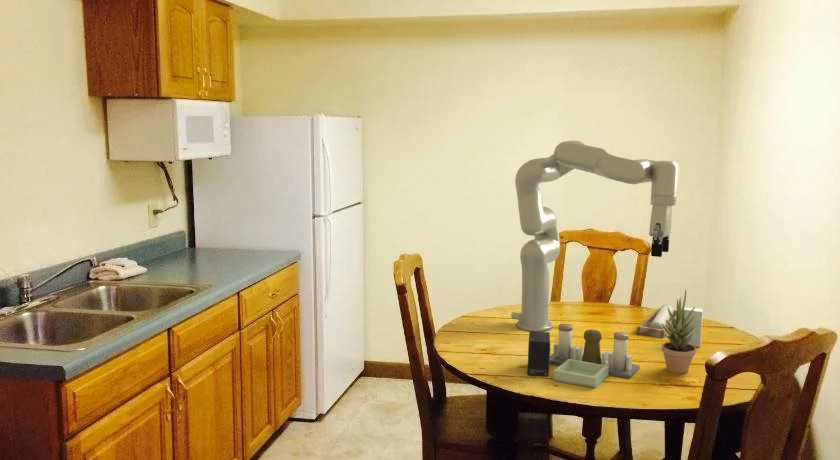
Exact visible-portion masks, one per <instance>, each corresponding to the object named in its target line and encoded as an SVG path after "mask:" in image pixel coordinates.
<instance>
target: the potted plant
mask: <svg viewBox="0 0 840 460" xmlns="http://www.w3.org/2000/svg"><path fill="white" fill-rule="evenodd" d="M686 299H687V289H686V288H685V289H684V296H683V302H682V297H681V296H680V297H679V299H678V298H677V299H676V320H675V319H674V317H673V315H672V313H671V311H670V309H669V307H668V313H669V316H670V318H671V319H670V321H671V322H672V325H673V326H672V325H671V324H670V323H669V322H670V321H669V322H668V321H667V320H666V322H667V324H668V326H669V327H668V326H667V325H666V327H667V328H668V330H669V331H670V332H669V331H668V330H667V329H666V328H665V327H664V325H663V324H662V326H663V328H664V329H665V331H666V332H667V333H668V334H667V335H666V334H664V335H665V337H666V338H667V339H668V340H669V341H666V342H663V343H662V344H661V351H662V353H663V357H664V362H665V366H666V368H665V369H666V370H667V371H668V372H671V373H675V374H685V373H688V372H689V370H690V366H691V363H692V361H693V357H694V356H695V355H696V353H697V348H696V347H695V346H693V345H691V344H688V343H689V341H690V340H691V338H690V337H691V336H692V335H693V334H692V335H690V336H689V337H688V338H686V336H687V335H688V334H689V333H690V332H691V331H692V330H693V329H694V327H695V326H693V327H692V328H691V326H692V325H691V326H690V327H689V325H690V324H691V322H692V320H693V318H694V317H693V318H692V319H691V320H690V321H689V322H688V323H687V321H688V320H689V318H690V316H691V314H692V313H693V311H694V308H696V307H695V306H694V307H692V308H693V309H692V310H691V312H690V313H689V314H688V316H687V317H686V318H685V313H686V310H685V311H684V308H685V307H686V301H687V300H686ZM684 318H685V319H684ZM686 323H687V324H686ZM685 324H686V325H685ZM688 327H689V328H688ZM687 328H688V329H687ZM690 328H691V329H690ZM689 329H690V330H689ZM688 331H689V332H688ZM685 338H686V339H685ZM689 338H690V339H689ZM688 339H689V340H688Z"/></svg>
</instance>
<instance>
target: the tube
mask: <svg viewBox="0 0 840 460" xmlns="http://www.w3.org/2000/svg"><path fill="white" fill-rule="evenodd" d="M668 307H669V309H670V311H671V313H672V315H674V310H675V308H674V307H672V306H671V304H662V305H661V307H659V308H660V310H659V312H658V313H657V315H656V316H655V318H654V319H653V321H652V322H651V324H650V325H649V328H655V329H663V326H662V324H663V325H664V327H665V326H666V325H667V322H666V320H667V321H668V322H670V321H671V318H670V316H669V313H668Z"/></svg>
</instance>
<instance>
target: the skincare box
mask: <svg viewBox="0 0 840 460" xmlns="http://www.w3.org/2000/svg"><path fill="white" fill-rule="evenodd" d="M693 308H694V307H687V306H685V308H684V311H685V310H686V313H685V318H686V317H687V316H688V314H689V313H690V312H691V310H692V309H693ZM703 313H704V309H703V308H696V307H695V308H694V311H693V313H692V314H691V316H690V318H689V320H688V321H687V323H688V322H689V321H690V320H691V319H692V318H693V317H694V318H693V320H692V322H691V324H690V325H689V327H690V326H691V325H692V326H691V328H692V327H693V326H695V327H694V329H693V330H692V331H691V332H690V333H689V334H688V335H687V336H686V338H688V337H689V336H690V335H692V334H693V335H692V336H691V337H690V338H691V340H690V341H689V343H688V344H691V345H693V346H694V347H697V348H700V347H701V346H702V335H703V334H702V333H703V332H702V331H703ZM685 318H684V319H685ZM687 323H686V324H687ZM686 324H685V325H686ZM689 327H688V328H689ZM688 328H687V329H688ZM691 328H690V329H691ZM690 329H689V330H690ZM688 332H689V331H688ZM686 338H685V339H686ZM690 338H689V339H690ZM689 339H688V340H689Z"/></svg>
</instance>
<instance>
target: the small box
mask: <svg viewBox="0 0 840 460" xmlns="http://www.w3.org/2000/svg"><path fill="white" fill-rule="evenodd" d="M528 332H529V334H528V345H527V346H528V351H527V352H528V353H527V354H528V355H527V367H526V375H527V376H539V377H549V373H550V365H551V364H550V356H551V335H550V334H551V333H550V331H549V332H546V331H528Z"/></svg>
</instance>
